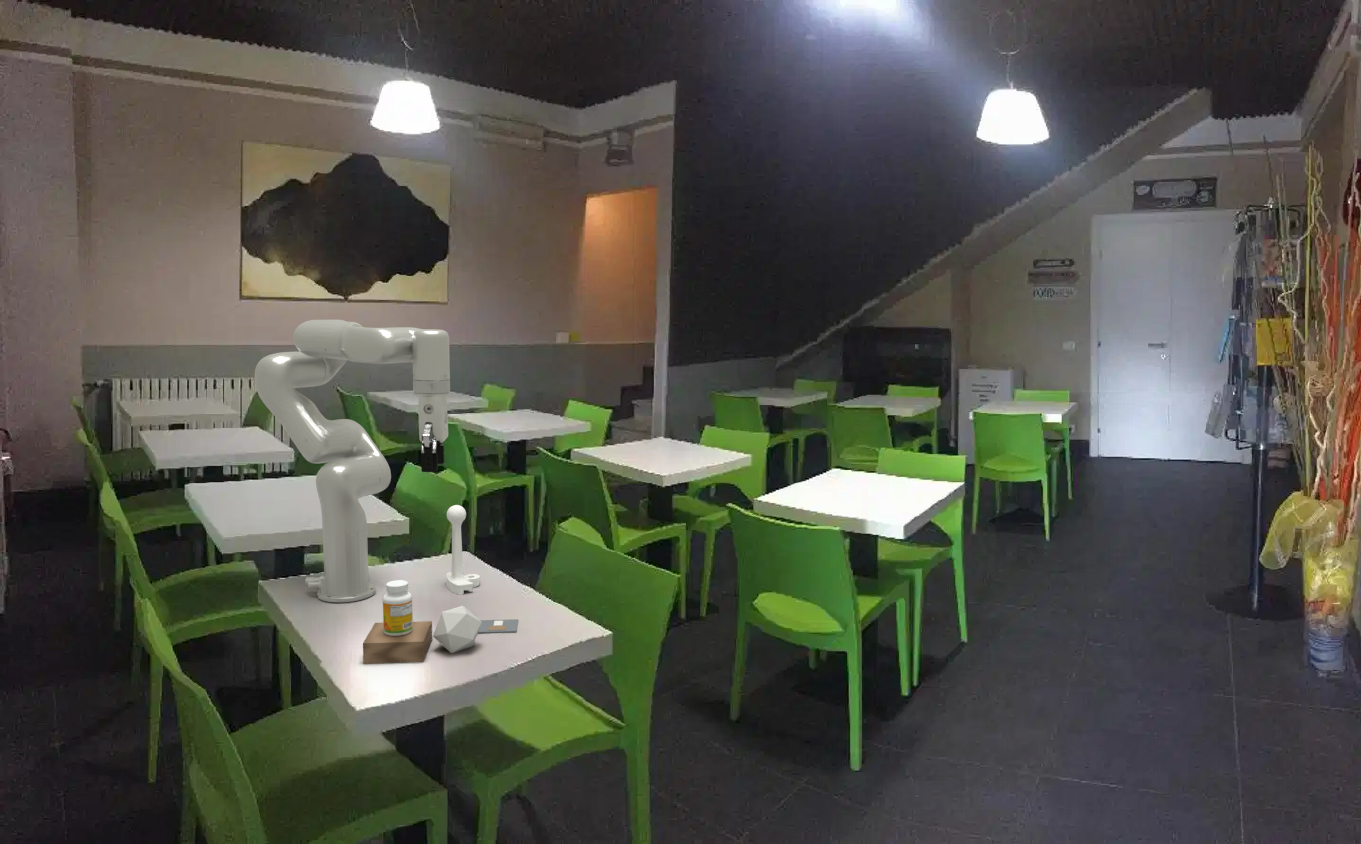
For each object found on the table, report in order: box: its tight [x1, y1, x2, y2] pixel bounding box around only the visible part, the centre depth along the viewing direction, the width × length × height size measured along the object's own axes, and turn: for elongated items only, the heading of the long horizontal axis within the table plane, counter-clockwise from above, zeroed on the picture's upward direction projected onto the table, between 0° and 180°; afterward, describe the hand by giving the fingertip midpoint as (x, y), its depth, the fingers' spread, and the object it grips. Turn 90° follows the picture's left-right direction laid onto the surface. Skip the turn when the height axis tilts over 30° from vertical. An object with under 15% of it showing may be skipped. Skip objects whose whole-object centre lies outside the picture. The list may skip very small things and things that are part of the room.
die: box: [432, 605, 482, 654], centre depth 176 cm, size 8×9×10 cm
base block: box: [362, 620, 433, 665], centre depth 174 cm, size 11×11×4 cm
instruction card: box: [477, 618, 519, 635], centre depth 189 cm, size 8×7×1 cm
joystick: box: [445, 504, 481, 596], centre depth 214 cm, size 11×8×20 cm
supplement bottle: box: [382, 579, 414, 636], centre depth 173 cm, size 5×5×10 cm
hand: (433, 467), depth 192 cm, fingers open, 9 cm apart
